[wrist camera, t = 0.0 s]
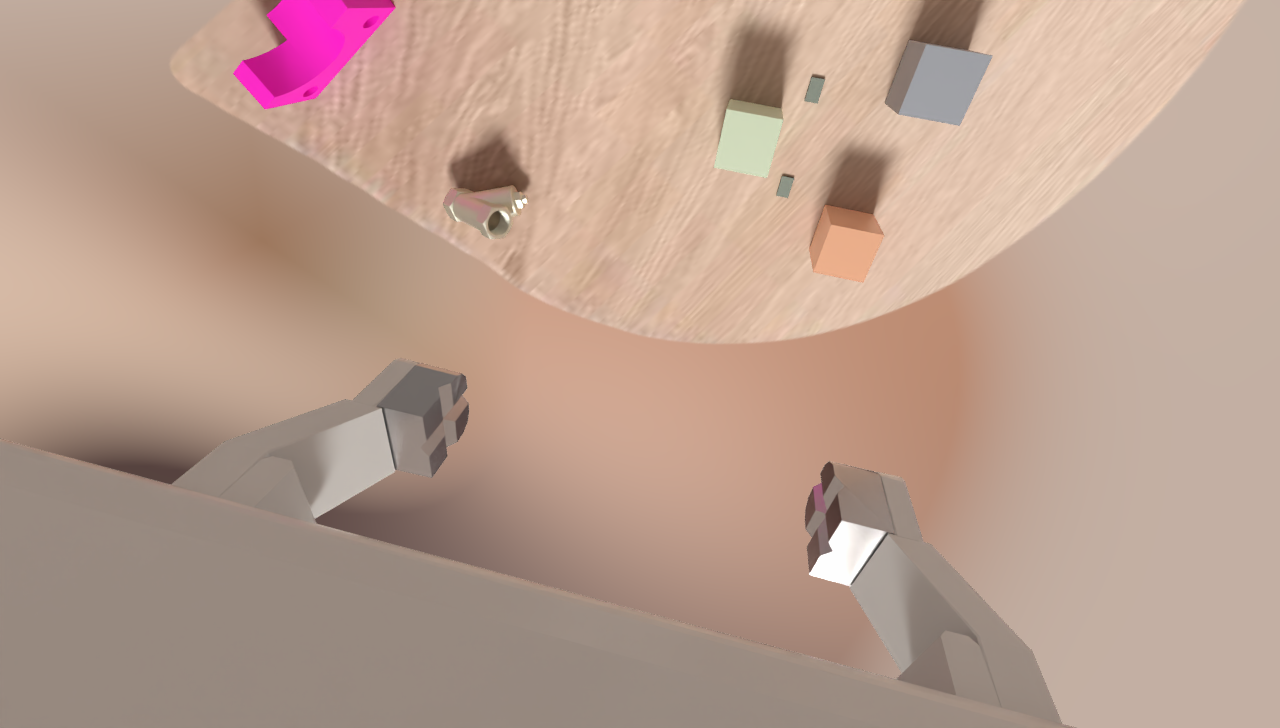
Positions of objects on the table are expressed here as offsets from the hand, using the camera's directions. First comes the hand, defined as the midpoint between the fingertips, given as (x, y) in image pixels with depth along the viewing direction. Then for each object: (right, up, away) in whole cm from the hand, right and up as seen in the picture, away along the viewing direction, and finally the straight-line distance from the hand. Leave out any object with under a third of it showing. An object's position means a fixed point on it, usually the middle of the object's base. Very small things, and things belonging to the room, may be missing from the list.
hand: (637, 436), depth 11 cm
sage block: (+11, +25, +39) cm, 48 cm away
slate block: (+25, +27, +34) cm, 51 cm away
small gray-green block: (+16, +27, +36) cm, 48 cm away
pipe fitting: (-15, +22, +48) cm, 55 cm away
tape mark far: (+15, +20, +42) cm, 49 cm away
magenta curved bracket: (-32, +37, +42) cm, 64 cm away
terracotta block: (+21, +16, +43) cm, 51 cm away
